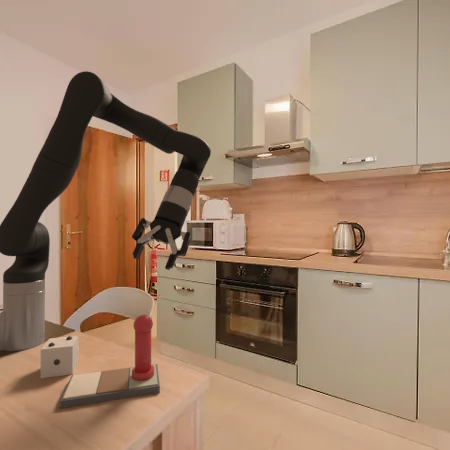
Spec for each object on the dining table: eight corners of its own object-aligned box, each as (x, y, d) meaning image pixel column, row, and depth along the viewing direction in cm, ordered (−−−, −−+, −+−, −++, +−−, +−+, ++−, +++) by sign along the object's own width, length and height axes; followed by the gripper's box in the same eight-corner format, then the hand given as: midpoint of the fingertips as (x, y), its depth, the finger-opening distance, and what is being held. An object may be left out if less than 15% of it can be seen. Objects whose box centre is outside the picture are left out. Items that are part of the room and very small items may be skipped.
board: (59, 408, 50) (59, 400, 50) (71, 381, 58) (71, 374, 58) (159, 392, 54) (159, 384, 54) (157, 369, 63) (157, 363, 63)
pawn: (131, 382, 55) (131, 319, 55) (132, 371, 59) (132, 312, 59) (154, 379, 56) (154, 317, 56) (153, 368, 61) (153, 311, 61)
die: (39, 379, 59) (39, 347, 59) (49, 364, 65) (49, 335, 65) (71, 375, 60) (71, 344, 60) (78, 361, 67) (78, 333, 67)
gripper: (146, 193, 73) (119, 252, 68) (198, 208, 71) (174, 269, 66) (154, 205, 80) (130, 259, 75) (201, 219, 78) (180, 275, 73)
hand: (151, 264), depth 71 cm, fingers open, 8 cm apart
